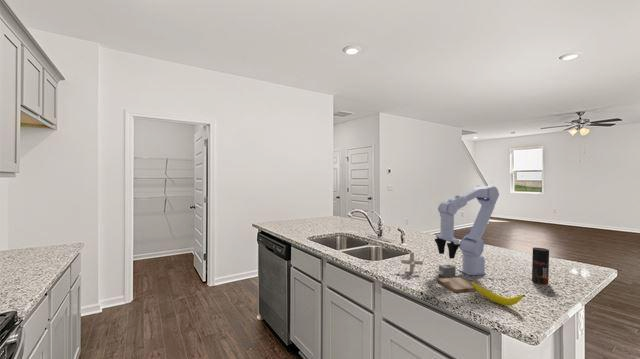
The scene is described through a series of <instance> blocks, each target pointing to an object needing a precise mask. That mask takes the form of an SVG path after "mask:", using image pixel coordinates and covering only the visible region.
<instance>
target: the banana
mask: <svg viewBox="0 0 640 359" xmlns="http://www.w3.org/2000/svg"><path fill="white" fill-rule="evenodd" d="M470 282H471V283H472V285H473V286H474V287H475V289H476V290H477V291H476V292H478V293H479V294H481V295H482V296H483V297H485V298H486V299H488V300H490V301H491V302H493V303H496V304H498V305H502V306H506V307H510V306H514V305H515V304H518V303H519V302H520V301H521V300H522V299H523V298H524V297H525V296H526V295H525V294H522V295H518V296H513V297H507V296H502V295H500V294H497V293H495V292H492V291H490V290H488V289H487V288H484V287H482V286H481V285H479V284H477V283H476V282H474V281H470Z"/></svg>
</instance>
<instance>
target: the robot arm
mask: <svg viewBox="0 0 640 359" xmlns="http://www.w3.org/2000/svg"><path fill="white" fill-rule="evenodd" d="M499 196H500V192H499V189H498V188H497V186H494V185H492V186H488V185H487V186H486V185H476V186H474V187H472V189H471V190H470V191H468V192H466V193H465V194H463V195H462V194H456V195H455V196H454V197H453V198H450V199H448V200H447V201H442V202H441V203H439V205H438V207H437V211H438V213H439V216H440V232H439V233H435V238H434V242H435V244H436V245H437V249H438V254H439V255H444V254H445V250H446V249H445V247H446V246H447V249H448V259H451V260H452V259H455V257H456V254H457V251H458V249H459V250H460V251H461V254H462V265H461V266H462V268H457V270H458V271H460V272H462V273H464V274H465V275H468V276H479V275H486V274H487V273H486V272H485V269H486V268H485V267H486V262H485V257H484V256H483V253H484V246H485V242H484V240H483V239H482V238H483V235H484V233H485V230H486V228H487V226H488V224H489V221H490V219H491V216H492V214H493V211H494V210H495V206H496V204H497V202H498V199H499ZM471 200H477V202H478V203H479V204H480V205H481V206H480V209H479V210H478V214H477V215H476V218H475V220H474V223H472V224H473V225H472V227H471V229H470V232H469V233H466V234H465V235H463V238H462V239H461V240H460V239H458V238H456V237H455V236H454V232H455V230H454V229H455V227H454V226H455V225H454V224H455V215H456V214H457V212H458V210H461V209H462V208H464V207H466V206H467V205H468V202H470V201H471Z"/></svg>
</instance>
